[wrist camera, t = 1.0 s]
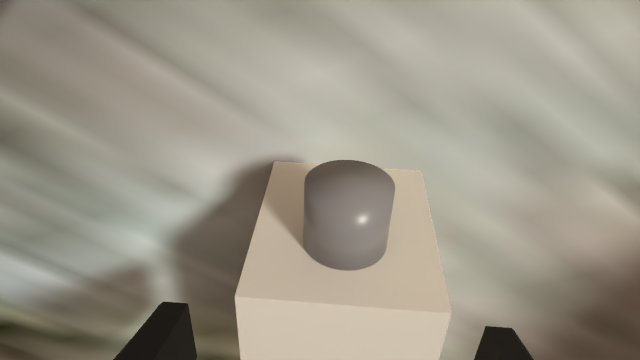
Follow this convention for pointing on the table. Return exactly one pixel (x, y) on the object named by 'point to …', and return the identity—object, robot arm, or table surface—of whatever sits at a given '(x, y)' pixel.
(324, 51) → the table surface
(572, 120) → the table surface
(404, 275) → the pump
